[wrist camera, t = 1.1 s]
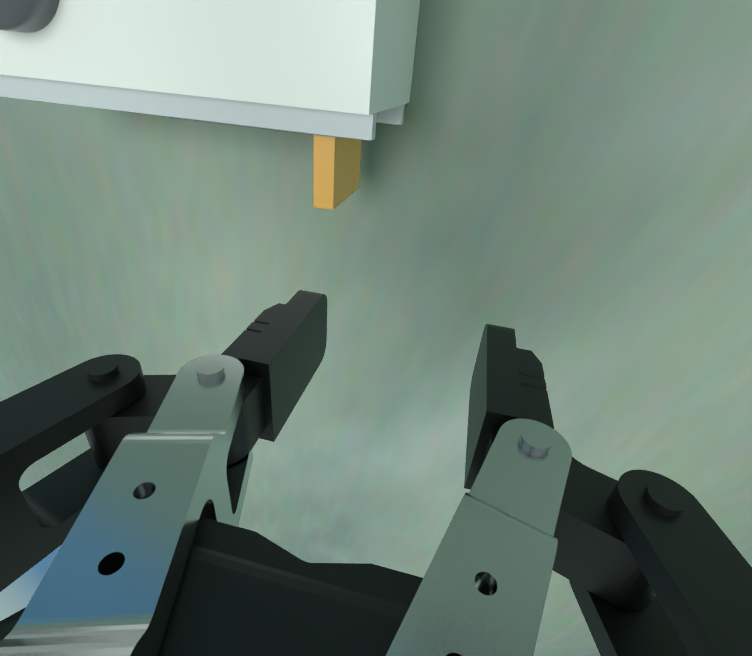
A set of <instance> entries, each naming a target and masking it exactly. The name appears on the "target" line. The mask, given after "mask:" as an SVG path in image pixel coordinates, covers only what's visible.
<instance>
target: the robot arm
mask: <svg viewBox="0 0 752 656" xmlns="http://www.w3.org/2000/svg"><path fill="white" fill-rule="evenodd" d="M326 336H327V297H326V295H325V294H319V293H314V292H308V291H303V290H299V291H298V292H297V293H296V294H295V295H294V296H293V297H292V298H291V300H290V301H289V302H288V303H287V304H286V305H285V304H280V303H279V304H277V305H275V306H272V307H270V308H268V309H266V310H264V311H263V312H262V313H261V314H260V315H259V316H258V317H257V318H256V319H255V321H254V322H252V323H251V324H250V325H249V326H248V327H247V330H245V331H244V332H243V333H242V334H241V335H240V336H239V337H238V338H237V339H236V340H235V341H234V342H233V343H232V344H231V345H230V346H229V347H228V348H227V349H226V350H225V351H224V352H223V353H222V354H221V355H207V356H203V357H199V358H196V359H194V360H192V361H190V362H188V363H187V364H185V365H184V366H183V367H182V368H181V369H180V370H179V372H178V373H177V375H143V373H142V369H141V365H140V363H139V361H138V360H137V359H135V358H134V357H131V356H128V355H121V354H113V355H105V356H100V357H96V358H93V359H90V360H88V361H85V362H83V363H81V364H79V365H77V366H75V367H73V368H71V369H68V370H66V371H64V372H62V373H60V374H58V375H56V376H54V377H52V378H50V379H47V380H45V381H43V382H41V383H39V384H37V385H35V386H33V387H31V388H29V389H26V390H24V391H22V392H20V393H18V394H16V395H14V396H12V397H10V398H8V399H6V400H3V401H1V402H0V592H1V591H2V590H3V589H5V588H6V587H7V586H8V585H10V584H11V583H12V582H14V581H15V580H16V579H18V578H19V577H20V576H21V575H23V574H24V573H25V572H27V571H28V570H29V569H30V568H31V567H33V566H34V565H35V564H37V563H38V562H39V561H41V560H42V559H43V558H45V557H46V556H47V555H48V554H50V553H51V552H53V551H54V550H55V549H56V548H58V547H59V546H60V545H62V546H61V547H60V549H59V551H58V553H57V554H56V556H55V558H54V560H53V561H52V563H51V565H50V567H49V568H48V570H47V572H46V574H45V575H44V577H43V579H42V580H41V582H40V584H39V586H38V587H37V589H36V591H35V593H34V594H33V596H32V598H31V600H30V601H29V603H28V605H27V607H26V608H24V609H22V610H20V611H19V612H16V613H15V614H13V615H11V616H10V617H8V618H6V619H4V620H2V621H0V656H533V654H534V650H535V645H536V641H537V636H538V632H539V627H540V623H541V618H542V614H543V609H544V605H545V600H546V596H547V591H548V587H549V583H550V578H551V574H552V570H553V571H555V572H557V573H559V574H560V575H562V576H564V577H566V578H567V579H569V581H570V585H571V587H572V590H573V592H574V595H575V597H576V599H577V602H578V604H579V606H580V608H581V611H582V613H583V615H584V618H585V620H586V622H587V625H588V627H589V629H590V632H591V634H592V636H593V639H594V641H595V643H596V646H597V648H598V650H599V653H600V655H601V656H752V567H751V566H750V565H749V564H748V562H747V561H746V560H745V559H744V557H743V556H742V555H741V554H740V552H739V551H738V550H737V549H736V547H735V546H734V545H733V544H732V542H731V541H730V540H729V539H728V537H727V536H726V535H725V534H724V533H723V531H722V530H721V529H720V528H719V526H718V525H717V524H716V523H715V521H714V520H713V519H712V518H711V516H710V515H709V514H708V513H707V511H706V510H705V509H704V508H703V506H702V505H701V504H700V503H699V502H698V501H697V499H696V498H695V497H694V496H693V495H692V494H691V493H690V492H688V491H687V490H686V489H685V488H683V487H682V486H681V485H679V484H678V483H676V482H675V481H673V480H671V479H669V478H667V477H665V476H663V475H660V474H658V473H654V472H651V471H646V470H631V471H628V472H626V473H624V474H623V475H622V476H621V477H620V479H619V480H618V481H617V480H615V479H612V478H610V477H608V476H606V475H604V474H602V473H599V472H597V471H595V470H593V469H591V468H589V467H587V466H585V465H583V464H582V463H580V462H578V461H577V460H576V459H574V458H573V457H572V452H571V449H570V446H569V444H568V443H567V441H566V440H565V439H564V438H563V436H561V435H560V434H559V433H558V432H557V431H556V430H554V425H553V420H552V415H551V409H550V404H549V399H548V393H547V391H546V383H545V380H544V372H543V367H542V363H541V362H540V361H539V360H538V358H537V357H536V356H535V355H534V353H533V352H532V351H529V350H524V349H519V348H516V338H515V330H514V329H512V328H506V327H501V326H495V325H490V324H486V325H485V328H484V331H483V335H482V339H481V343H480V347H479V351H478V355H477V359H476V363H475V367H474V371H473V376H472V381H471V388H470V400H469V417H468V433H467V450H466V467H465V484H464V488H467V489H471V490H470V492H469V493H465V495H464V496H463V498H462V500H461V502H460V504H459V506H458V508H457V510H456V512H455V514H454V516H453V518H452V520H451V523H450V525H449V527H448V529H447V531H446V533H445V535H444V537H443V539H442V541H441V543H440V545H439V547H438V549H437V551H436V553H435V555H434V557H433V560H432V562H431V564H430V566H429V568H428V570H427V572H426V574H425V576H424V578H421V577H417V576H414V575H410V574H407V573H403V572H399V571H396V570H392V569H388V568H385V567H381V566H378V565H374V564H347V563H308V562H304V561H302V560H301V559H299V558H297V557H296V556H294V555H292V554H291V553H289V552H288V551H286V550H284V549H283V548H281V547H279V546H278V545H276V544H275V543H273V542H271V541H270V540H268V539H267V538H265V537H263V536H262V535H260V534H258V533H257V532H254V531H251V530H247V529H244V528H240V527H238V526H239V521H240V516H241V511H242V507H243V502H244V497H245V493H246V488H247V483H248V479H249V474H250V469H251V465H252V460H253V452H252V448H253V446H254V445H255V443H256V442H257V440H258V438H261V439H265V440H269V441H273V442H274V441H275V439H276V437H277V436H278V434H279V432H280V431H281V429H282V427H283V426H284V424H285V422H286V421H287V419H288V417H289V415H290V414H291V412H292V410H293V409H294V407H295V405H296V404H297V402H298V400H299V399H300V397H301V395H302V394H303V392H304V390H305V388H306V387H307V385H308V383H309V382H310V380H311V378H312V377H313V375H314V373H315V372H316V370H317V368H318V367H319V365H320V363H321V361H322V359H323V356H324V353H325V348H326ZM84 432H85V434H86V437H87V439H88V442H89V445H90V447H91V448H90V449H88V450H87V451H85V452H84V453H82V454H81V455H79V456H77V457H76V458H74V459H73V460H71V461H70V462H68V463H66V464H65V465H63V466H62V467H60V468H59V469H57V470H56V471H54V472H52V473H51V474H49V475H48V476H46V477H45V478H43V479H41V480H40V481H38V482H37V483H35V484H34V485H32V486H30V487H29V488H27V489H26V490H24V491H22V492H21V490H20V488H19V480H20V477H21V476H22V474H23V472H24V471H25V470H26V469H27V468H28V467H29V466H30V465H31V464H33V463H34V462H36V461H37V460H39V459H41V458H42V457H44V456H46V455H47V454H49V453H51V452H52V451H54V450H56V449H57V448H59V447H61V446H62V445H64V444H65V443H67V442H69V441H70V440H72V439H74V438H75V437H77V436H79V435H80V434H82V433H84Z"/></svg>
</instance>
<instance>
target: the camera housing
mask: <svg viewBox="0 0 752 656" xmlns="http://www.w3.org/2000/svg"><path fill="white" fill-rule="evenodd" d="M419 9H420V0H0V96H3V97H11V98H19V99H28V100H36V101H45V102H53V103H61V104H70V105H78V106H86V107H95V108H103V109H111V110H120V111H128V112H136V113H145V114H153V115H162V116H170V117H178V118H187V119H195V120H203V121H212V122H220V123H228V124H237V125H245V126H253V127H262V128H270V129H279V130H287V131H295V132H304V133H312V134H320V135H329V136H337V137H345V138H354V139H362V140H371V141H372V140H374V139H375V133H376V122H377V123H386V124H395V125H402V124H403V119H404V109H405V104H407V103H410V93H411V84H412V75H413V65H414V56H415V47H416V37H417V28H418V18H419Z"/></svg>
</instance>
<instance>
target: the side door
mask: <svg viewBox="0 0 752 656" xmlns="http://www.w3.org/2000/svg"><path fill="white" fill-rule="evenodd" d="M169 117H170V116H169ZM170 118H178V117H170ZM179 119H187V118H179ZM187 120H195V119H187ZM195 121H203V120H195ZM204 122H212V121H204ZM212 123H220V122H212ZM220 124H228V123H220ZM229 125H237V124H229ZM237 126H245V125H237ZM245 127H253V126H245ZM254 128H262V127H254ZM262 129H270V128H262ZM270 130H279V129H270ZM279 131H287V130H279ZM287 132H295V131H287ZM295 133H304V132H295ZM304 134H312V133H304ZM312 135H314V207H318V208H325V209H331V210H333V209H334V208H336V207H337V206H338V205H339V204H340V203H342V202H343V201H344V200H345V199H346V198H348V197H349V196H350V195H351V194H352V193H353V192H355V191H356V190H357V189H358V188H359V182H360V165H361V147H362V139H354V138H345V137H337V136H329V135H320V134H312Z"/></svg>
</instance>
